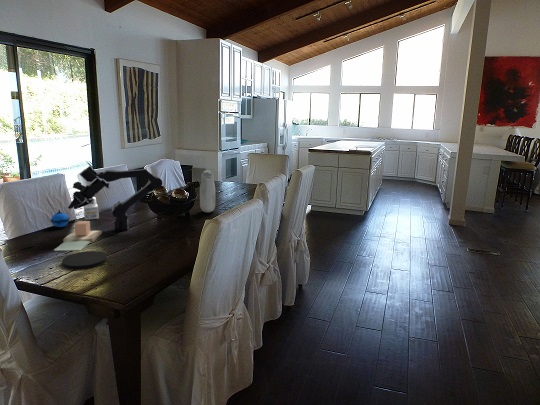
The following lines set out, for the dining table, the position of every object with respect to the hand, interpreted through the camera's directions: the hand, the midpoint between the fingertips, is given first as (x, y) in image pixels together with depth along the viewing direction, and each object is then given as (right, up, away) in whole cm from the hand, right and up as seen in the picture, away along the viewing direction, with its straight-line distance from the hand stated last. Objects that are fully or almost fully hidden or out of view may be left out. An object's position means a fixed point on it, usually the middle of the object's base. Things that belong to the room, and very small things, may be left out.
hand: (71, 208), depth 203 cm
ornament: (-14, -11, +15) cm, 23 cm away
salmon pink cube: (+7, -13, -3) cm, 15 cm away
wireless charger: (+23, -23, -34) cm, 47 cm away
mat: (+9, -18, -16) cm, 25 cm away
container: (-5, -6, +35) cm, 36 cm away
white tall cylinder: (+63, -3, +55) cm, 84 cm away
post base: (+7, -15, -2) cm, 17 cm away
